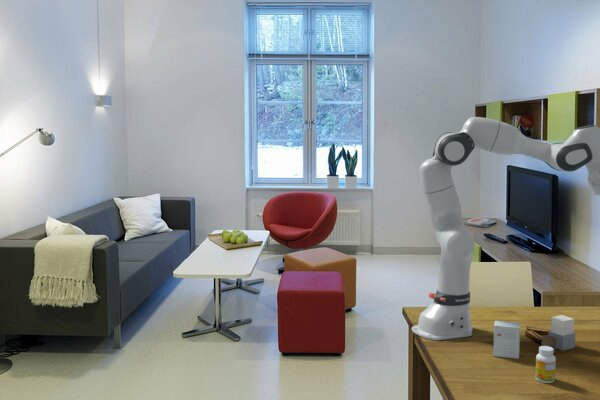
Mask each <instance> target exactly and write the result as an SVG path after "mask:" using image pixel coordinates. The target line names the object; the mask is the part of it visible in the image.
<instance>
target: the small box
mask: <svg viewBox="0 0 600 400" xmlns="http://www.w3.org/2000/svg"><path fill="white" fill-rule="evenodd" d="M520 326H521V324H520V322H519V321H518V322H517V321H505V320H504V321H503V320H494V324H493V357H498V358H506V359H507V358H508V359H518V360H519V359H520V345H521V344H520V342H521V341H520V340H521V339H520V336H521V333H520V332H521V330H520V329H521V327H520Z"/></svg>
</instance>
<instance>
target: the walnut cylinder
mask: <svg viewBox="0 0 600 400" xmlns="http://www.w3.org/2000/svg"><path fill="white" fill-rule="evenodd" d="M541 346H549V347H552V348H553V349H554V353H553V355H556V353H557V348H556V337H554V336H551V335H548V334H543V335H542V336H541Z"/></svg>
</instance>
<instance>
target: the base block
mask: <svg viewBox="0 0 600 400" xmlns="http://www.w3.org/2000/svg"><path fill="white" fill-rule="evenodd" d="M547 335H551V336H554V337H556V350H559V351H562V352H563V351H566V350H571V349H574V348H575V347H576V332H573V333H572V334H568V335H564V336H562V335H560V334H557V333H554V332H551V330H549V331H548V333H547Z"/></svg>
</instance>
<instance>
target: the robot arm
mask: <svg viewBox="0 0 600 400" xmlns="http://www.w3.org/2000/svg"><path fill="white" fill-rule="evenodd" d="M474 149H479V150H483V151H486V152H490V153H494V154H499V155H506V156H508V155H510V156H511V155H523V156H526V157H530V158H532V159H537V160H540V161H543V162H544V163H545V164H547V165H548V167H550V168H551V169H552V170H555V171H562V172H568V173H569V172H570V173H571V172H575V171H578V170H579V169H581V168H582V167H584V166H585V167H586V170H587V183H588V186H589V189H590V191H591V193H592V195H594V196H600V127H599V126H597V125H595V124H591V125H583V126H579V127H576V128H575V129H574V130H573V132H572V133H571V135H570V136H569V137H568V138H567V139H566V140H565V141H564V142H555V143H547V142H544V141H540V140H537V139H533V138H531V137H528V136H526V135H524V134H523V133H522V131H520V130H519V128H517V127H515V126H514V125H511V124H509V123H507V122H504V121H500V120H497V119H492V118H487V117H483V116H482V117H481V116H470V117H469V118H468V119H467V120H466V121H465V122H464V124H463V126H462V128H461V130H460V131H459V132H453V131H451V132H450V131H449V132H445V133H443V134H441V135H440V136H439V137H438V138H437V139H436V141H435V145H434V149H433V153H432V157H431V158H428V159H426V160H424V161H423V162H422V163H421V165H420V167H419V176H420V183H421V187H422V192H423V195H424V197H425V200H426V203H427V204H426V205H427V207H428V211H429V213H430V214H429V215H430V218H431V223H432V226H433V230H434V234H435V238H436V241H437V243H438V245H439V246H440V248H441V249H440V260H439V266H438V272H437V275H438V276H437V277H438V278H437V290H436V293H433V292H429V293H428V298H429V299H432V300H433V301H432V302H431V303H430V304H429V305H428V307H426V308H425V309H424V310H423V311H422V312H421V313H420V314H419V317H418V323H417V324H416V325H413V326H412V327H411V331H412V333H414V334H416V335H417V336H420V337H421V338H424V339H428V340H430V341H441V340H451V339H459V338H468V337H471V336H473V331H474V329H473V325H472V321H471V311H470V303H471V292H470V273H471V272H470V271H471V265H472V260H473V254H474V253H473V252H474V250H475V249H474V248H475V240H474V236H473V234H472V233H471V232H470V231H469V230H468V229H467V228H466V226H465V223H464V217H463V213H462V206H461V202H460V199H459V195H458V191H457V189H456V184H455V183H454V179H453V176H452V175H453V174H452V168H453V167H455V166H458V165H461V164H463V163H464V162H465V161H467V159H468V158H469V157H470V155H471V154H472V152H473V151H474Z"/></svg>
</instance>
